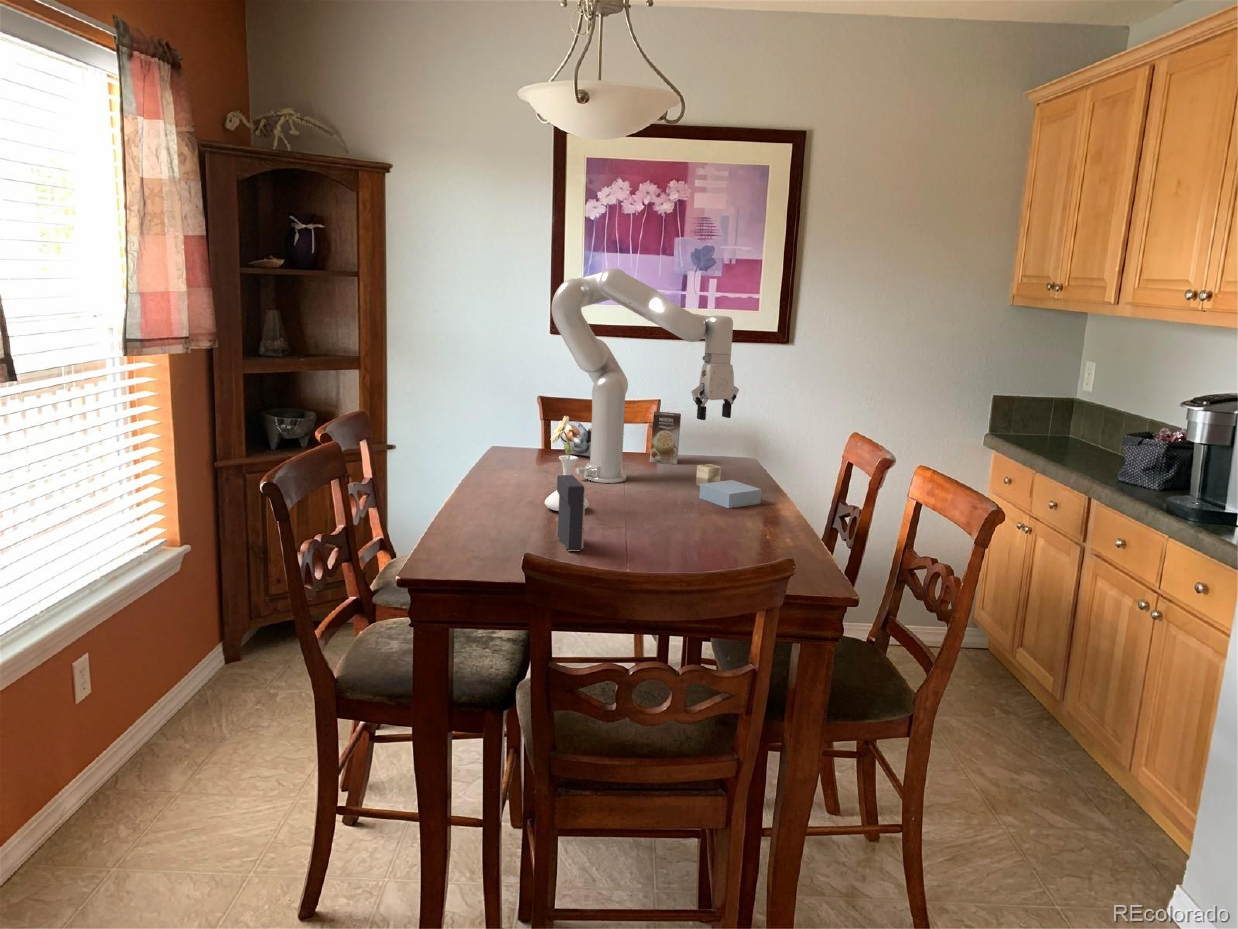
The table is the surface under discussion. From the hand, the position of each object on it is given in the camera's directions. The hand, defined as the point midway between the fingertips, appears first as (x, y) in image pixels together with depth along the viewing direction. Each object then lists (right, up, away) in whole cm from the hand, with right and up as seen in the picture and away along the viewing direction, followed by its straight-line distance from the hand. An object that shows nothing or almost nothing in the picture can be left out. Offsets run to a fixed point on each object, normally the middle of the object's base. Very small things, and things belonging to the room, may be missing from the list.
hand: (713, 418), depth 264 cm
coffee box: (-13, -13, +35) cm, 39 cm away
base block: (+3, -23, -12) cm, 26 cm away
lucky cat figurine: (-40, -10, +39) cm, 57 cm away
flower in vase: (-41, -25, -30) cm, 57 cm away
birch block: (-1, -20, +4) cm, 20 cm away
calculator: (-39, -32, -59) cm, 77 cm away
